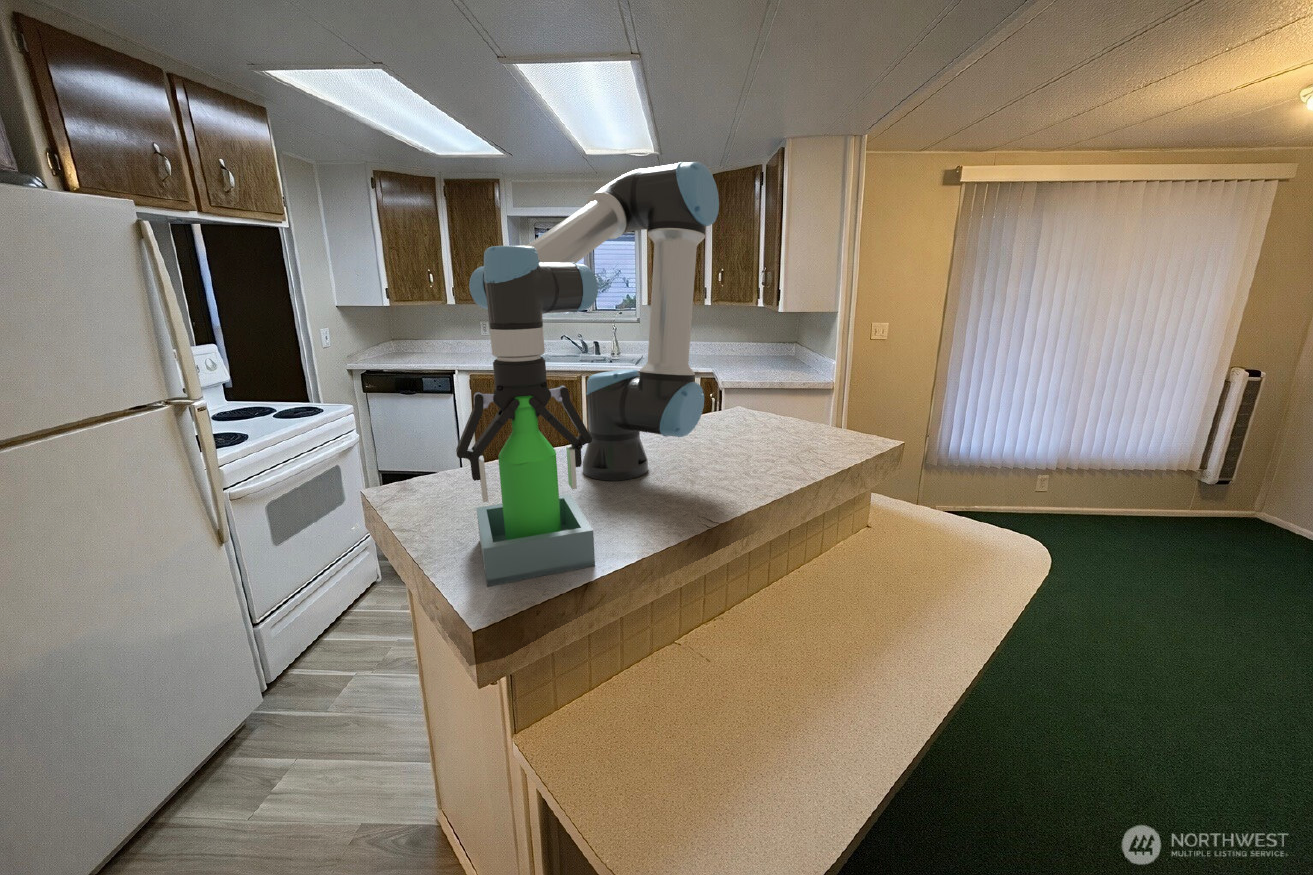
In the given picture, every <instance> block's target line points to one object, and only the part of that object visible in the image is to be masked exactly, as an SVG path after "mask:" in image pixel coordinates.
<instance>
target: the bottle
mask: <svg viewBox="0 0 1313 875" xmlns="http://www.w3.org/2000/svg"><path fill="white" fill-rule="evenodd" d="M530 398H532V396H519V397H516V398H514V399H517V400H518V401H519V402H520V405H519V406H518V408H517V409H516V410H515V421H514V420H511V427H512V428H511V430H512V431H511V433H510V435H509V436H508V439H506V442H505V443H504V445H503V447H502V448H501V450H500V452H499V454H498V457H497V458H498V469H499V470H498V471H499V481H500V492H501V494H500V495H501V502H502V503H501V504H502V506H503V516H504V526H505V536H506V540H511V539H517V538H523V537H529V536H535V535H541V534H547V533H553V532H559V531H561V521H560V505H559V496H560V493H559V492H560V491H559V480H558V478H559V477H558V464H557V462H558V461H557V452H556V449H555V448H554V447H553V446H552V444H551V442H549V441H548V439H547V438H546V437H545V436H544V434H543V433H542V432H541V431H540V430H539V421H538V420H539V416H538V417H536V414H535V409H534V408H533V407H532V406H531V405H530V404H529V400H530Z"/></svg>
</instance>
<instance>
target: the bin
mask: <svg viewBox="0 0 1313 875" xmlns="http://www.w3.org/2000/svg"><path fill="white" fill-rule="evenodd" d="M559 505H560V521H561V531H559V532H553V533H547V534H541V535H535V536H529V537H523V538H517V539H511V540H506V536H505V526H504V516H503V506H502V503H499V504H492V505H484V506H478V507H476V508H475V509H476V515H477V516H476V518H477V524H478V525H477V526H478V536H479V543H480V550H481V556H482V561H483V562H482V563H483V568H484V574H485V581H486V587H493V586H497V585H501V584H507V583H508V584H509V583H513V582H517V581H518V582H519V581H523V580H529V579H533V578H538V577H539V578H540V577H542V576H543V577H545V576H549V575H554V574H560V573H564V572H569V571H575V570H579V569H580V570H581V569H584V568H590V567H591V568H592V567H595V566H596V560H595V558H596V556H595V540H594V539H595V537H594V534H595V533H594V529H593V527H592V526H591V524H590V523H589V521H588V519H587V518H586V516H585V515H584V513H583V512H582V510H581V509H580V507H579V505H578V504H577V501H576V500H575V499H574V497H573V496H572V493H570V494H569V493H567V494H559Z"/></svg>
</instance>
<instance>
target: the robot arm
mask: <svg viewBox="0 0 1313 875" xmlns="http://www.w3.org/2000/svg"><path fill="white" fill-rule="evenodd" d="M713 176H714V175H713V174H712V173H711V171H710V169H709V168H708V167H707V166H706V165H705V164H703V163H701V162H700V161H690V162H688V161H686V162H685V161H680V162H678V163H674V164H673V163H671V164H666V165H659V166H654V167H653V166H651V167H647V168H646V167H645V168H637V169H634V170H631V171H628V172H627V173H624V174H621V176H619V177H617V178H615V179H614V180H612V181H610V182H608V183H607V184H605V185H604V186H602V187H601V188H600V189H597V190H596V191H595V192H594V193H593V192H592V194H590V195H589V197H588V199H587V201H586V204H585V205H584V206H583V207H581V208H579V209H578V210H576V211H575V212H574V213H572V214H571V215H569V216H567V217H566V218H565V219H563V220H561V222H559V223H557V224H556V225H554V226H553V227H551V228H550V229H549V230H547V231H546V232H544V233H542V234H541V235H540V236H539V237H536V238H535V239H534V240H532V241H531V242H529V243H528V244H527V245H495V246H489V247H487V248H486V249H485V251H484V252H483V266H482V265H481V266H479V267H478V268H476V269H474V271H473V272H472V273H471V275H470V278H469V285H468V288H469V293H470V295H471V297H472V300H473V301H474V303H475V304H476V305H477V306H479V307H480V308H481V309H483V310H486V311H487V316H488V323H489V335H490V345H491V346H490V347H491V355H492V356H493V357H494V358H496V359H494V360H493V362H492V366H493V380H494V391H493V393H482V392H480V391H475V392H474V394H473V408H472V409H471V412H470V414H469V417H468V419H467V422H466V424H465V427H464V430H463V432H462V435H461V437H460V439H459V442H458V444H457V446H456V450H455V452H456V457H457V458H458V459H466V460H468V461H469V464H470V470H471V478H472V480H473V481H474V482H475V481H480V490H481V498H482V503H488V502H489V495H488V484H487V476H486V474H487V473H486V467H485V459H484V456H483V453H484V451H485V450H486V449H487V448H488V446H489V445H490V444H491V442H492V441H493V440H494V438H495V437H496V435H497V434H498V432H500V430H501V429H502V428H503V426H504V425H506V423H507V421H508V420H509V419H510V420H511V421H512V420H514V421H515V410H516V409H517V408H518V406H519V405H520V402H519V401H518V400H517V399H514V398H516V397H519V396H532V398H530V400H529V404H530V405H531V406H532V407H533V408H534V409H535V414H536V417H538V418H539V417H540V416H541V417H542V418H544V420H545V421H547V422H548V424H549V425H551V426H552V428H554V429H555V430H556V431H557V432H558V434H560V435H561V436H562V437H563V438H564V439H565V440H566V441H567V442H568V443H569V444H570V445H566V446H565V447H566V461H567V462H566V464H567V465H566V466H567V478H568V482H567V483H568V486H569V487H570V488H571V489H572V490H577V489H578V484H577V468H581V467H582V472H583V474H584V475H585V476H586V477H589V478H591V479H595V480H599V481H623V480H630V479H635V478H638V477H641V476H644V475H645V474H646V473H647V472H648V470H649V460H648V457H647V454H646V452H645V449H644V445H643V442H642V439H641V435H640V433H648V434H655V435H659V436H663V437H664V438H665V437H667V438H668V437H675V438H683V437H685V436H688V435H689V434H690V433H692V432H693V431H694V430H695V428H696V426H697V425H698V423H699V421H700V419H701V417H702V414H703V411H704V410H703V409H704V406H705V393H704V389H703V387H702V386H701V385H700V384H699V383H697V382H696V381H695V379H696V373H695V372H694V370H693V369H692V368H691V367H690V365H689V364H690V363H689V361H690V348H691V330H692V321H693V319H692V316H693V305H694V294H695V293H694V290H695V289H694V288H695V276H696V275H695V274H696V264H697V263H696V261H697V249H698V245H699V244H700V243H701V242H703V240H704V239H705V237H706V227H709V226H711V225H713V224H714V223H715V222H716V220H717V217H718V215H719V211H720V210H719V209H720V199H719V191H718V187H717V183H716V181H715V179H714V177H713ZM645 230H647V236H648V237H649V238H650V240H651V241H652V242H653V244H654V246H653V261H652V262H653V263H652V265H653V266H652V277H651V278H652V282H651V297H650V300H651V301H650V314H649V331H648V332H649V333H648V349H647V363H646V364H644V365H643V366H642V367H641V368H640V369H639V370H637V369H634V368H631V369H630V368H627V369H619V370H618V369H616V370H611V371H604V372H598V373H594V374H591V375H589V377H588V379H587V380H586V392H585V396H586V408H587V409H586V410H587V424H588V428H587V427H586V425H585V424H584V421H583V420H582V419H581V416H580V415H579V413H578V412H577V410H576V408H575V406H574V405H573V403H572V402H571V396H570V392H569V389H568V388H567V386H565V385H563V384H560V385H559V386H557V387H555V388H554V387H553V388H550V389H549V386H548V381H547V378H548V377H547V366H546V359H545V358H544V357H542V355H544V354H545V353H546V351H545V349H546V348H545V341H544V340H545V339H544V327H543V326H544V324H543V320H544V319H543V315H544V314H559V313H578V312H581V311H585V310H587V309H589V308H591V307H592V306H593V305H594V303H595V302H596V300H597V297H598V294H599V286H598V280H597V276H596V275H595V273H594V271H593V270H592V269H591V268H590V267H589V266H587V265H586V264H583V263H578V262H579V261H581V260H582V259H583V258H585V257H586V256H587V255H589V254H590V253H591V252H593V251H594V250H595V249H596V248H598V247H599V246H600V245H602V244H603V243H605V241H607V240H616V239H617V238H620V237H621V236H623V235H624V234H626V233H628V232H633V231H645ZM551 398H554V399H555V401H556V402H558V403H560V404H561V405H562V407H563V409H564V411H565V412H566V415H568V418H569V419H570V421H571V422H572V424H573V426H574V427H575V429H576V431H577V433H578V434H579V435H578V436H575V435H574V434H573V433H572V432H571V431H570V430H569V429H568V428H567V427H566V426H565V425H564V424H563V423H562V422H561V421H560V420H559V419H558V418H557V417H556V416H555V415H554V414H552V412H551V411H549V409H548V408H547V407H546V406H547V405H548V403H549V402H550V401H551ZM491 403H494V404H495V405H496V407H498V411H497V412H496V413H495V415H494V418H492V420H491V422H489V424H488V426H487V427H486V428H485V430H484V431H483V432H482V434H481V435H480V437H479V438H478V439H477V441H476V442H475V443H474V444H473V446H472V447H471V448H469V447H470V445H471V442H472V440H473V438H474V435H475V432H476V431H477V430H476V429H477V428H478V425H479V423H480V421H481V418H482V416H483V411H484V409H488V408H489V405H490V404H491ZM584 445H587V446H586V448H585V452H584V456H583V459H582V449H583V446H584Z"/></svg>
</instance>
